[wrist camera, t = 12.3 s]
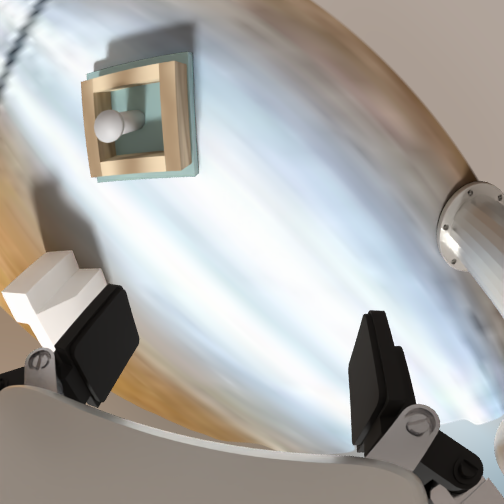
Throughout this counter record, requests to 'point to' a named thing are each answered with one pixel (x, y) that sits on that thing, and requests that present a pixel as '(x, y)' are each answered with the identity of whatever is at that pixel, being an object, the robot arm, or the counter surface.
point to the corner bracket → (53, 294)
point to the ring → (172, 115)
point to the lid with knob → (142, 118)
